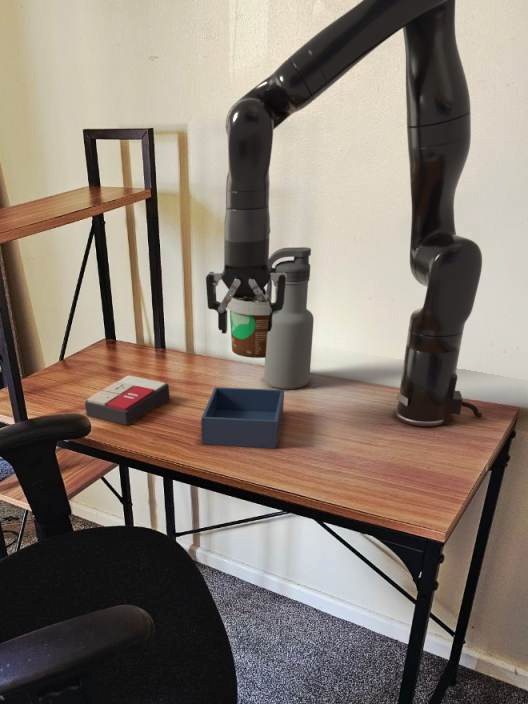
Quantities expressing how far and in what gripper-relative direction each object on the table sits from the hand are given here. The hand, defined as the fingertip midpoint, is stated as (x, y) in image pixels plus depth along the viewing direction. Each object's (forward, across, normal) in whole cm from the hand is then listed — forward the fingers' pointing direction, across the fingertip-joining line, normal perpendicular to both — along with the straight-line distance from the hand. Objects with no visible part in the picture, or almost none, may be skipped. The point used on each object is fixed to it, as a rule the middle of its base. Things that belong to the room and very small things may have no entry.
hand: (245, 332), depth 127 cm
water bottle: (+19, +6, +25) cm, 32 cm away
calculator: (+19, -25, +7) cm, 32 cm away
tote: (+19, 0, -1) cm, 19 cm away
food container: (+4, 0, 0) cm, 4 cm away
